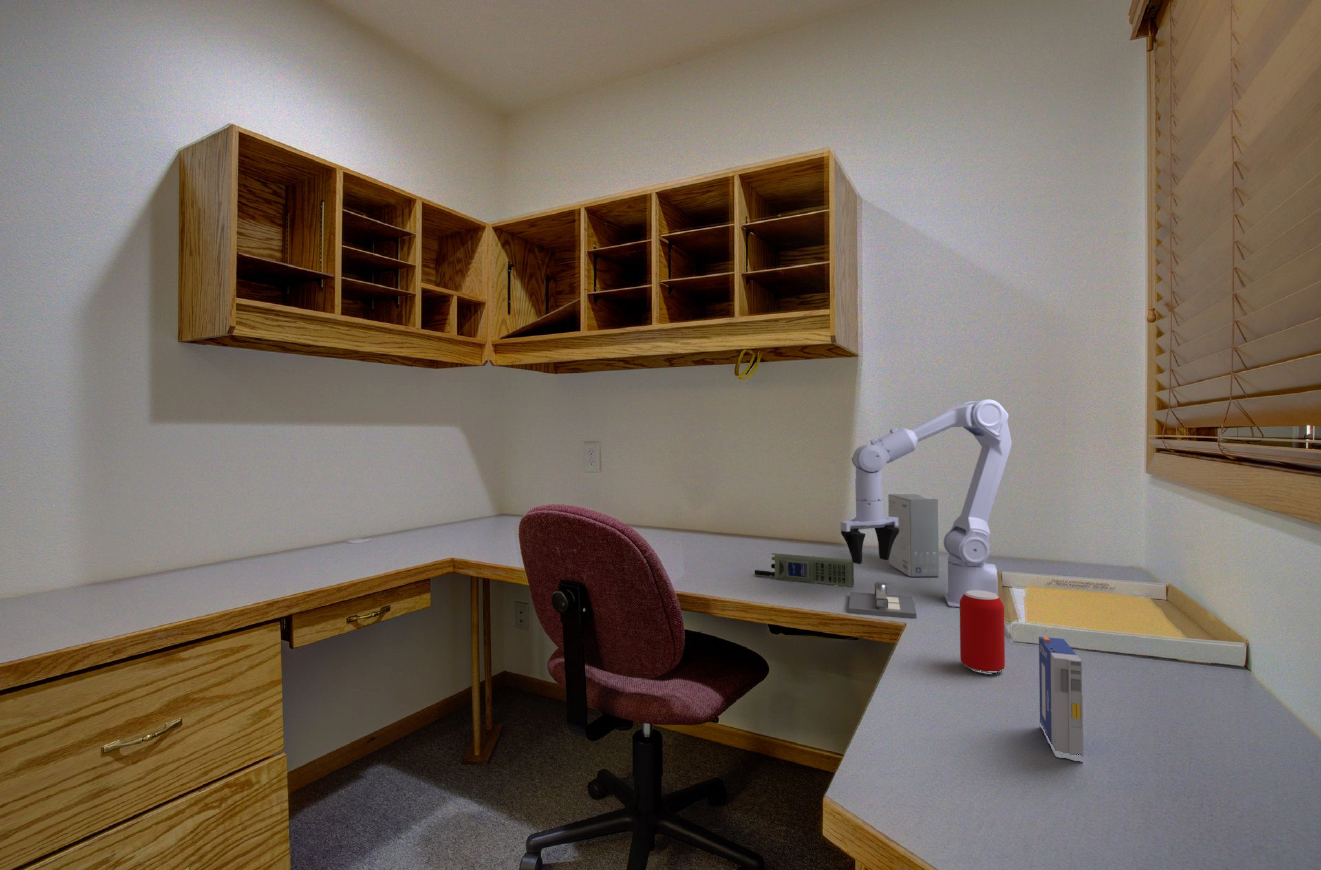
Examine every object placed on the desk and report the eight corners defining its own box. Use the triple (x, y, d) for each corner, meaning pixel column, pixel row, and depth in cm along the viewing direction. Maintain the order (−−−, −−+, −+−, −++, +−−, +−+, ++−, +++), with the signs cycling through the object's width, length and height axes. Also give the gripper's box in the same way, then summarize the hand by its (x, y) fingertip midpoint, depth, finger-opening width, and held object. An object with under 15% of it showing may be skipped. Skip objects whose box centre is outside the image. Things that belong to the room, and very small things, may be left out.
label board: (912, 600, 132) (912, 594, 132) (916, 618, 120) (916, 612, 120) (850, 596, 137) (850, 590, 137) (848, 613, 124) (848, 606, 124)
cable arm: (887, 593, 134) (886, 582, 134) (888, 608, 122) (888, 597, 122) (874, 592, 135) (874, 581, 135) (875, 607, 123) (875, 596, 123)
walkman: (1039, 727, 76) (1038, 633, 76) (1065, 730, 75) (1064, 636, 75) (1055, 759, 69) (1054, 655, 69) (1083, 763, 68) (1082, 658, 68)
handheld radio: (852, 589, 144) (752, 578, 155) (854, 586, 147) (756, 576, 158) (852, 561, 144) (752, 552, 155) (854, 559, 147) (756, 550, 158)
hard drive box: (940, 577, 152) (939, 499, 152) (909, 578, 152) (908, 499, 152) (915, 563, 168) (914, 492, 167) (887, 564, 168) (886, 493, 168)
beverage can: (1004, 680, 91) (1003, 601, 90) (958, 672, 94) (957, 596, 94) (1005, 666, 96) (1004, 591, 96) (962, 659, 99) (961, 586, 99)
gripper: (881, 495, 138) (883, 554, 138) (830, 500, 132) (832, 561, 132) (905, 498, 131) (906, 560, 132) (852, 503, 126) (854, 567, 126)
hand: (870, 561), depth 132 cm, fingers open, 7 cm apart
